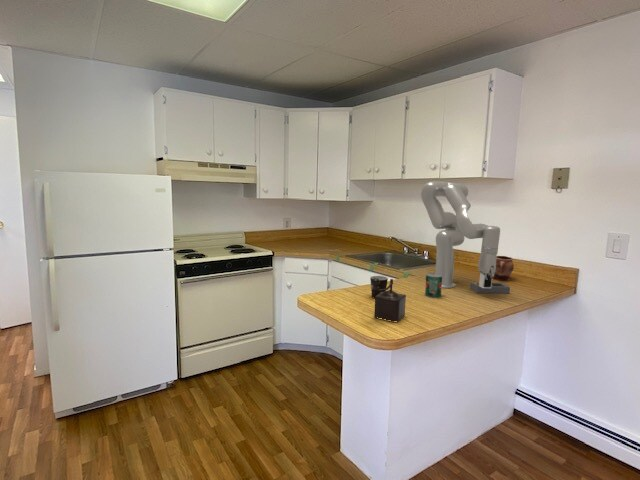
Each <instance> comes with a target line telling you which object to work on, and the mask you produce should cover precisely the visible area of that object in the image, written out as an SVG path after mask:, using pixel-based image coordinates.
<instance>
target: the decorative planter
mask: <svg viewBox="0 0 640 480" xmlns="http://www.w3.org/2000/svg"><path fill="white" fill-rule="evenodd" d="M513 271H514V263H513V258H512V257H511V256H506V255H496V270H495V273H494V277H493V278H492V280H496V281H509V280H510V277H511V275H512V272H513Z"/></svg>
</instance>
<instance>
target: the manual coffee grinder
mask: <svg viewBox="0 0 640 480" xmlns="http://www.w3.org/2000/svg"><path fill="white" fill-rule="evenodd" d="M389 281H390V282H389V285H387V287H386V288H385V289H379V287H378V285H379V284H380V280H379V279H377V278H373V279H371V280H370V286H371V285H372V286H373V287H372V289H373V290H378V291H383V292H380V293H379V294H378V295H377V296H375V299H374V316H373V318H374V317H378V318H382V319H386V320H391V321H399V320H400V319H401V318H402V317H403V316H404V315H406V298H407V295H406V294H402V293H398V292H396V291H394V290H393V285H394V279H393V278H391V279H390V280H389ZM404 317H405V316H404ZM404 317H403V318H404ZM403 318H402V319H403ZM402 319H401V320H402ZM401 320H400V321H401ZM400 321H399V322H400Z"/></svg>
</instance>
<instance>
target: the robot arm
mask: <svg viewBox="0 0 640 480" xmlns="http://www.w3.org/2000/svg"><path fill="white" fill-rule="evenodd" d="M468 195H469V190H468V187H467V185H465V184H462V183H457V182H456V183H455V182H449V181H436V180H435V181H428V182H426V183H425V184H424V185H423V187H422V189H421V193H420V197H421V201H422V203H423V205H424V207H425V209H426V212H427V214H428V217H429V220H430V223H431V225H432V226H433V228H435V229H436V230H440V231H439V232H438V233H436V236H435V247H436V256H435V257H436V259H435V273H437V274H441V275H442V288H443V289H451V288H455V287H456V283H454V281H453V280H454V266H455V251H454V247H457V246H461V245H462V244H463V243H464V241H465V238H467V239H469V240H474V239H482V240H481V249H480V255H479V259H478V265H477V269H478V271H480V272H482V273H484V274H486V279H485V281H484V287H491V281H492V282H493V277H494V273H495V270H496V256H498V250H499V245H500V244H499V243H500V238H501V237H500V236H501V228H500V227H499V226H497V225H496V226H495V225H488V224H485V223H472V221H471V220H470V218H469V216H468V211H469V210H470V208H471V202H470V201H469V200H468V199H467V197H468ZM437 197H445V198H446V200H447V201H448V203H449V205H450V206H451V208H452V209H453V211H454V212H450V211H449V212H448V211H445V210H444V208H443V206H442V203H441V202H440V201H439V199H437ZM489 273H490V274H489ZM488 275H489V276H488Z"/></svg>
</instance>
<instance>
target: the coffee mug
mask: <svg viewBox="0 0 640 480" xmlns="http://www.w3.org/2000/svg"><path fill="white" fill-rule="evenodd" d="M373 278H377V279H379V280H380V284H379V285H378V287H379V289H385V288H387V287H388V279H389V278H388V276H384V275H373V276H370V280H369V281H371V279H373ZM372 287H373V286H372V285H371V284H370V289H371V290H370V291H371V292H370V293H371V298H372V297H374V298H375V296H377V295H378V294H379V293H380V292H383V291H378V290H373V289H372ZM374 298H373V299H374Z"/></svg>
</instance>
